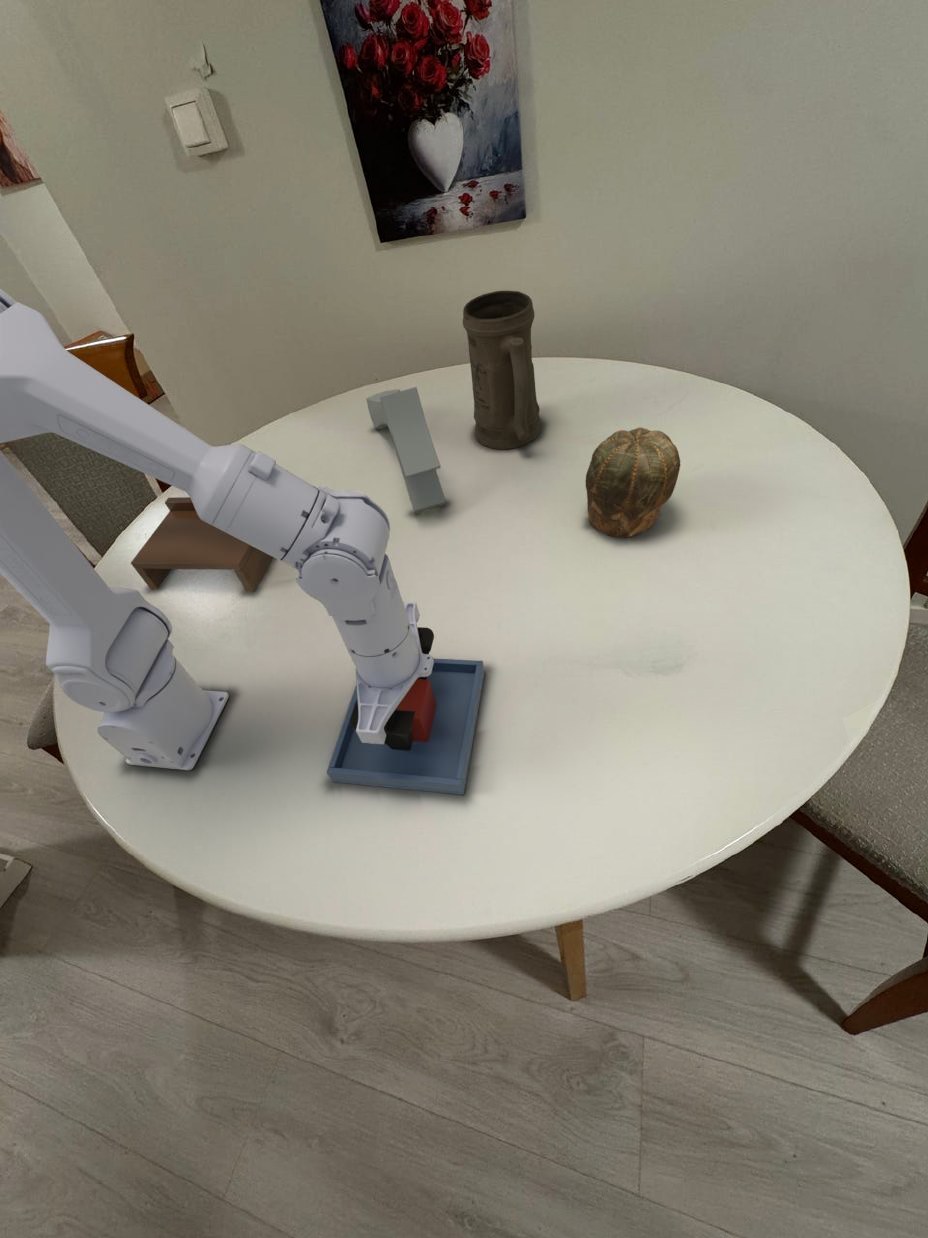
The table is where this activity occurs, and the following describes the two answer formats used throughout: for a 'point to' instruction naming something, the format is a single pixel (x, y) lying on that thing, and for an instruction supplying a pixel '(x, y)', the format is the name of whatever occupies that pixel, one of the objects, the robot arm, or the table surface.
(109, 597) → the robot arm
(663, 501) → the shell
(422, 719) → the block
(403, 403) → the faucet
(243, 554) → the shelf
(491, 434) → the beer stein
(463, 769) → the tray
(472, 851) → the table surface
